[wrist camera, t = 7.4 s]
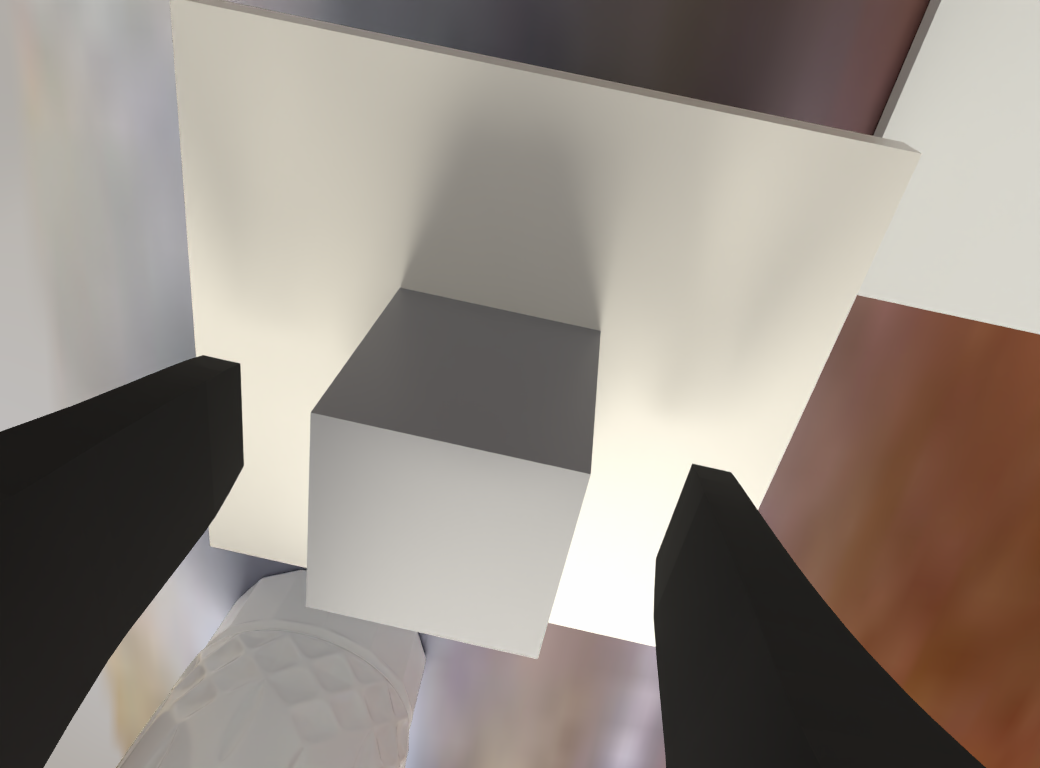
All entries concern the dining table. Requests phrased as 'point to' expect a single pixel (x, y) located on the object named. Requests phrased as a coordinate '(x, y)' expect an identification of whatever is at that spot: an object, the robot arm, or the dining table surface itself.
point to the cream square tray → (967, 167)
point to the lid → (499, 312)
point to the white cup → (288, 690)
